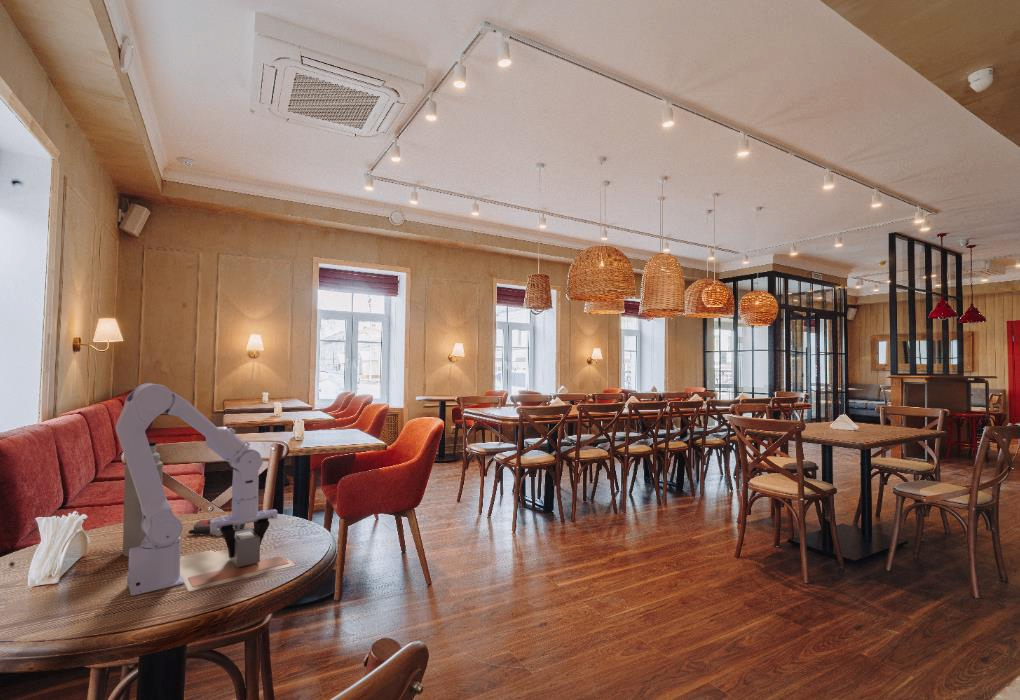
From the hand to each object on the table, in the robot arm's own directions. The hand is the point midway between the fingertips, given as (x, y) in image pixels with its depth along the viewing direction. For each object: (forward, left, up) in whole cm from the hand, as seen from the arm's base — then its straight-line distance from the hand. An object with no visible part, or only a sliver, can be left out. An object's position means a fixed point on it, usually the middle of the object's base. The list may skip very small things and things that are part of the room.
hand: (244, 553), depth 123 cm
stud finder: (0, 0, -2) cm, 2 cm away
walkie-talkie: (+3, +28, -3) cm, 28 cm away
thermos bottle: (-18, +25, -2) cm, 31 cm away
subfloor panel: (-2, +2, -2) cm, 4 cm away
